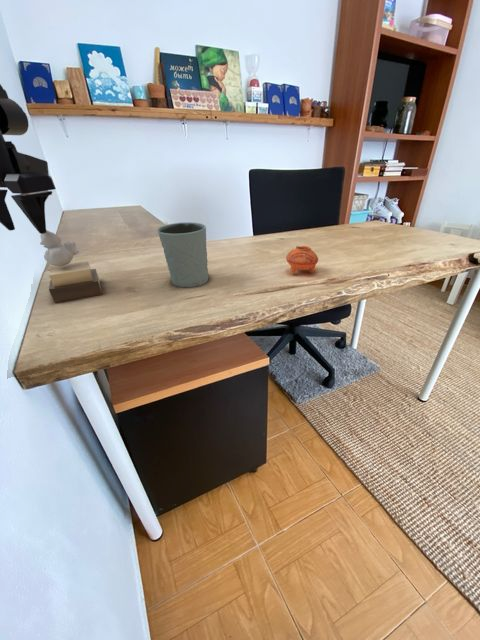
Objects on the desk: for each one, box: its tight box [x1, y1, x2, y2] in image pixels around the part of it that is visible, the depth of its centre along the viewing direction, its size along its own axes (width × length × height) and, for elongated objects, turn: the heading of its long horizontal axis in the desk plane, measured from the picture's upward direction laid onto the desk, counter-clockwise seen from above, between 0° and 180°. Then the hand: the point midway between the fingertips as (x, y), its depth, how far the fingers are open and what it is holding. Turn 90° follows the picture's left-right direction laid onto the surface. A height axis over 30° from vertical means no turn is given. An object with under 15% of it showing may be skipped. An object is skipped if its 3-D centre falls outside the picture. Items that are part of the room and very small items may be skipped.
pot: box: [285, 245, 319, 275], centre depth 72 cm, size 8×8×7 cm
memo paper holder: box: [48, 259, 103, 304], centre depth 64 cm, size 9×9×6 cm
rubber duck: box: [39, 229, 80, 266], centre depth 60 cm, size 5×7×8 cm
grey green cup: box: [157, 221, 209, 288], centre depth 66 cm, size 10×10×12 cm
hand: (27, 231), depth 58 cm, fingers open, 9 cm apart
